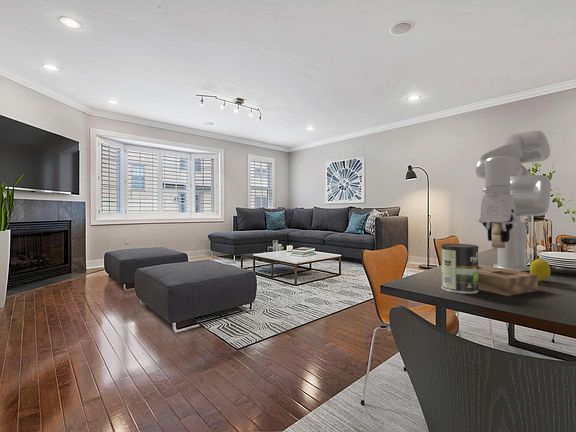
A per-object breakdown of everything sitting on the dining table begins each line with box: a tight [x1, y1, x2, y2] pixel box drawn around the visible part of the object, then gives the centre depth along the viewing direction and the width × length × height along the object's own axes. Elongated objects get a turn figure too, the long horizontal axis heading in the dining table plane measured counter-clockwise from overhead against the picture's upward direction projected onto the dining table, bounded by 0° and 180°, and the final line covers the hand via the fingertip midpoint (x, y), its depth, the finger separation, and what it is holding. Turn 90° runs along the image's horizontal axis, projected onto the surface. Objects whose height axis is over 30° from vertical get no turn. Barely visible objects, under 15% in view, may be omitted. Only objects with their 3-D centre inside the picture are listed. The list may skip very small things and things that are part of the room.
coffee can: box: [440, 243, 480, 295], centre depth 95 cm, size 10×10×14 cm
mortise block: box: [478, 264, 539, 297], centre depth 100 cm, size 14×22×6 cm, turn 22°
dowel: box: [491, 222, 505, 249], centre depth 110 cm, size 4×4×10 cm
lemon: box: [529, 257, 552, 282], centre depth 104 cm, size 6×6×8 cm
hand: (498, 240), depth 110 cm, fingers closed on dowel, 4 cm apart
